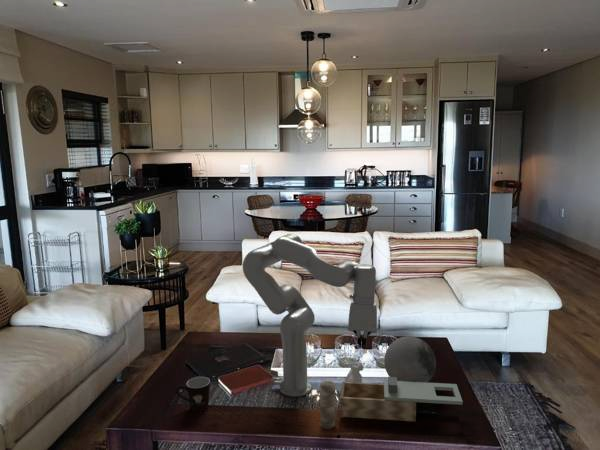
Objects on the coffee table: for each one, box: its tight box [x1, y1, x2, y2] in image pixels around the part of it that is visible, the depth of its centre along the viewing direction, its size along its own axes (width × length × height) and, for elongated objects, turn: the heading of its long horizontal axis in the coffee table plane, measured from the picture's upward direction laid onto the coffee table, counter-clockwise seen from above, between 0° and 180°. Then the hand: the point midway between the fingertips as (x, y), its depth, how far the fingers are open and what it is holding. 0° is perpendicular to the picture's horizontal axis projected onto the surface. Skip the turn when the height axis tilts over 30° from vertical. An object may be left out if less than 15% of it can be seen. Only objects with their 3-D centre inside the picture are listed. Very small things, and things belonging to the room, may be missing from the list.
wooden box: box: [339, 381, 417, 422], centre depth 171 cm, size 26×12×8 cm, turn 82°
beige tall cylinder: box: [319, 380, 336, 430], centre depth 163 cm, size 5×5×15 cm
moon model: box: [383, 335, 437, 383], centre depth 189 cm, size 20×20×20 cm
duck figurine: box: [344, 360, 364, 383], centre depth 190 cm, size 12×8×11 cm
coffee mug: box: [176, 376, 211, 412], centre depth 177 cm, size 12×9×10 cm
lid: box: [383, 376, 463, 406], centre depth 168 cm, size 26×12×4 cm, turn 82°
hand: (361, 346), depth 174 cm, fingers closed
